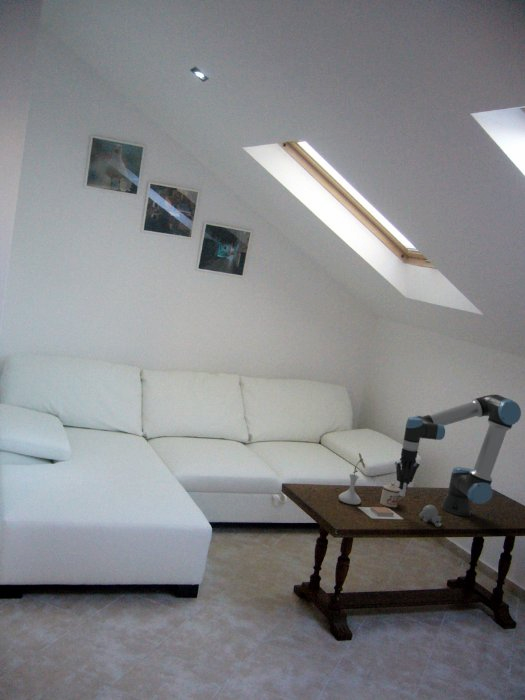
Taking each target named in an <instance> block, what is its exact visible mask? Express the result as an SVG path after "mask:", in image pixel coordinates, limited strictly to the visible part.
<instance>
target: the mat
mask: <svg viewBox="0 0 525 700" xmlns="http://www.w3.org/2000/svg"><path fill="white" fill-rule="evenodd" d="M370 507H371V506H370ZM370 507H368V506H367V507H366V506H365V507H364V506H357V508H358V509H359V510H360V511H362V512H363V513H364V514H366V515H367V516H368V517H370V519H376V520H377V519H382V520H404V518H403V517H402V516H400V515H399V514H398V513H396V512H395V511H394V510H392V509H390V507H387V508H388V509H389V510H390V511H392V512H393V513H394V515H393V516H377V515H376V514H374V513H373V512H372V511H371V510H370Z"/></svg>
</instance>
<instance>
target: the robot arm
mask: <svg viewBox="0 0 525 700" xmlns="http://www.w3.org/2000/svg"><path fill="white" fill-rule="evenodd" d="M521 416H522V409H521V408H520V406H519V403H517V402H515V401H513V399H509V398H507V397H504V396H502V395H499V394H488V395H483V396H480V397H477V398H474V399H472V400H471V401H470V402H467V403H464V404H460V405H458V406H457V405H456V406H454V407H450V408H446V409H443V410H441V411H436V412H434V413H431V414H426V415H423V416H422V415H415V416H409V417H408V418H407V420H406V424H405V430H404V436H403V441H402V448H401V453H400V456H401V457H400V458H399V460H398V461H395V462H394V464H395V467H396V481H398V482H399V486H398V488H399V489H400V492H399V497H400V496H402V498H403V497H406V491H407V490H408V486H409V485H410V483H412V482H413V481H414V477H415V475H416V473H417V470H418V468H419V467H420V465H421V464H420V463H418V462H417V457H418V450H419V446H420V441H421V439H426V440H427V439H428V440H435V441H437V440H438V441H441V440H443V439H444V438H445V436H446V428H445V426H447V425H451V424H454V423H458V422H462V421H465V420H468V419H472V418H474V417H478V418H481V417H488V419H487V422H488V425H489V426H488V428H487V430H486V434H485V437H484V439H483V442H482V445H481V448H480V451H479V453H478V456H477V458H476V461H475V464H474V466H473V469H472V468H466V467H461V466H455V467H453V468H452V471H451V475H450V481H449V486H448V488H447V489H448V490H447V494H446V496H445V497H444V500H443V501H442V502H441V506H440V507H441V509H442V510H443V511H445V512H448V513H449V514H452V515H456V516H460V517H461V516H462V517H469V516H471V514H472V504H471V502H472V503H474V504H477V505H482V504H484V503H487V502H489V500H490V499H491V498H492V496H493V486H491V485H492V482H493V478H492V476H491V475H492V472H493V470H494V467H495V464H496V462H497V460H498V459H497V458H498V456H499V454H500V452H501V451H500V450H501V448H502V444H503V442H504V439H505V437H506V434H507V432H508V431H510V430H512V428H513V425H515V424H516V423H518V422H519V421H520V419H521Z"/></svg>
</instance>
